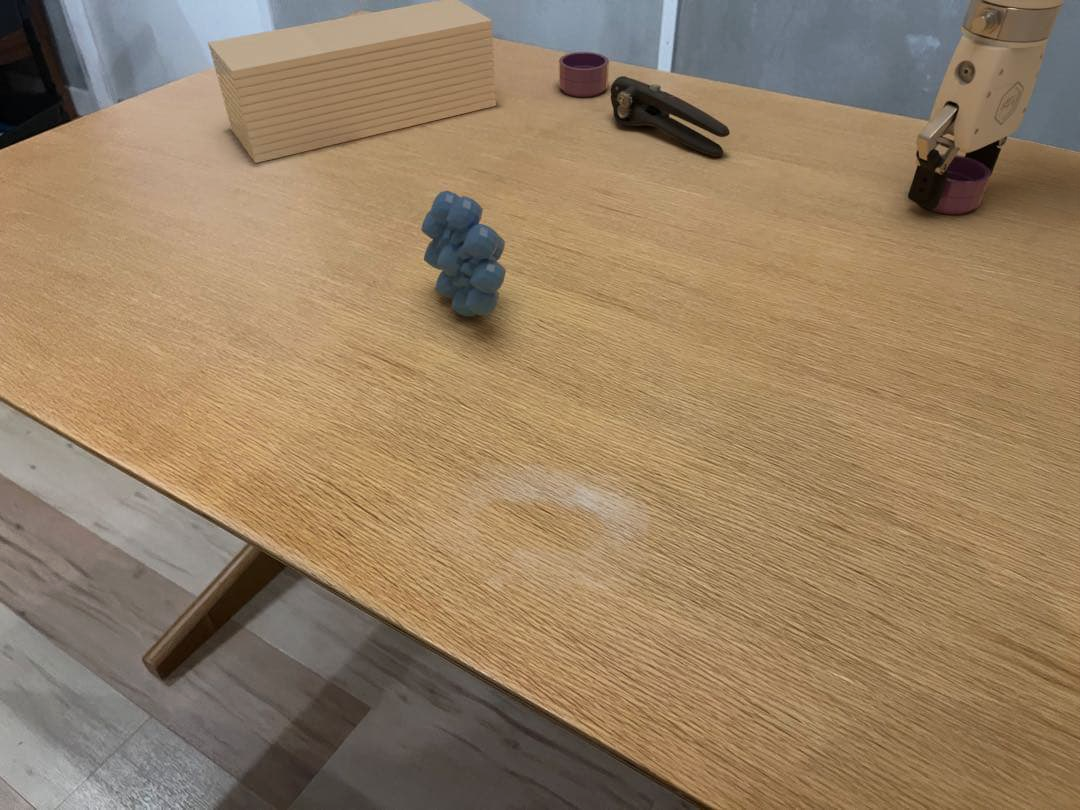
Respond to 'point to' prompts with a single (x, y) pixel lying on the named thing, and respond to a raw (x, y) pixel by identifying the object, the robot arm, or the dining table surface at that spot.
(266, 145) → the tan ribbed wooden block
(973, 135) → the robot arm
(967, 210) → the plum dish
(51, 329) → the dining table surface
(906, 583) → the dining table surface
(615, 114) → the can opener
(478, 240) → the grapes
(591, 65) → the plum dish
